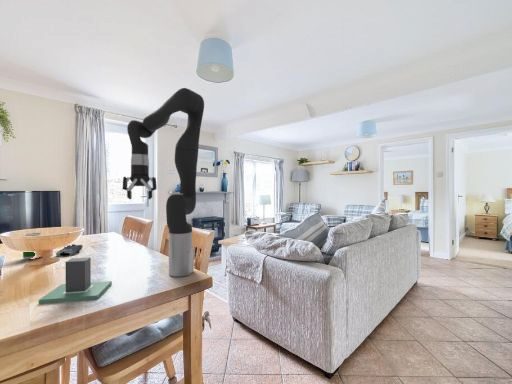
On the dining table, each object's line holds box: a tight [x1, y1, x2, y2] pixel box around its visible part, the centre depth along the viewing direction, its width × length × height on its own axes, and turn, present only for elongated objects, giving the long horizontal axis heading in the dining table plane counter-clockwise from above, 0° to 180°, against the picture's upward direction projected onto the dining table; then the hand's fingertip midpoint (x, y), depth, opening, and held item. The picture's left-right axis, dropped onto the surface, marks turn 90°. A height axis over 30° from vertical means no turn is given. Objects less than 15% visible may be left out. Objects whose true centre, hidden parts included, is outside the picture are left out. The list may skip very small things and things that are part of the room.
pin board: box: [38, 280, 113, 305], centre depth 80 cm, size 16×12×4 cm
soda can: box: [22, 232, 43, 259], centre depth 119 cm, size 8×8×12 cm
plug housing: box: [65, 257, 92, 292], centre depth 80 cm, size 6×4×10 cm
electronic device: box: [56, 243, 84, 258], centre depth 129 cm, size 9×6×15 cm
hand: (139, 199), depth 113 cm, fingers open, 8 cm apart
